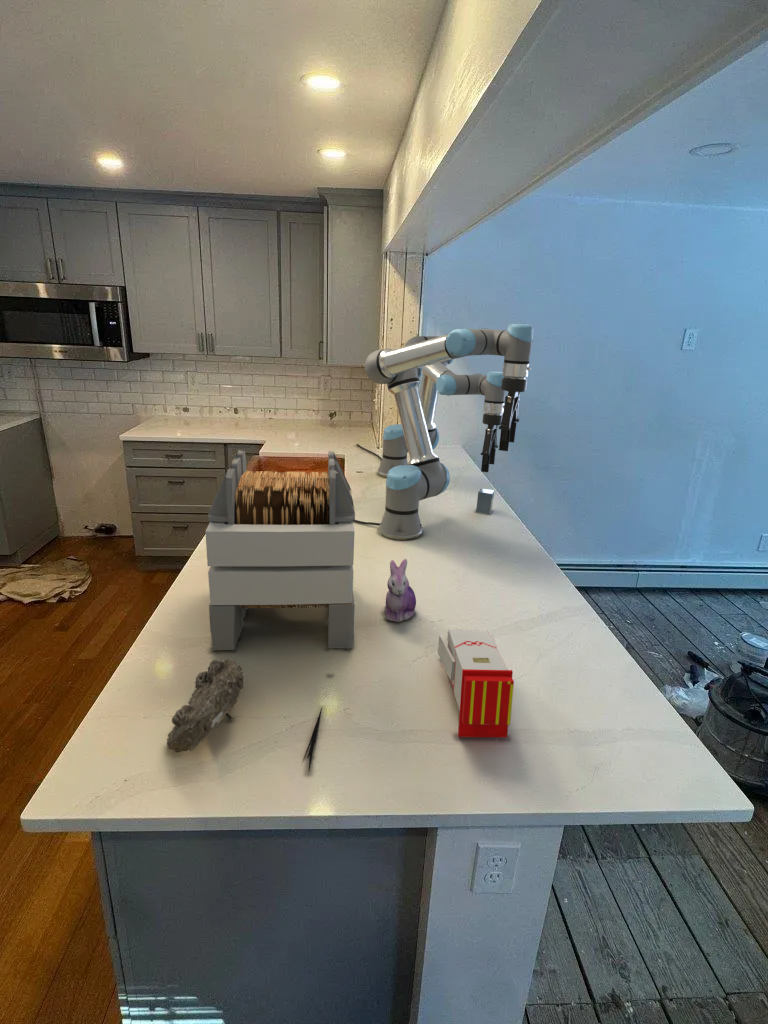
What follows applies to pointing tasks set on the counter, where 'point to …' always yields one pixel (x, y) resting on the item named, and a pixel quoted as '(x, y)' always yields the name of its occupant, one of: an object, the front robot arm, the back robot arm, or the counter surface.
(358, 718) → the counter surface
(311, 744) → the feather
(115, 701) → the counter surface
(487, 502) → the brick
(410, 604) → the figurine
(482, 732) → the toy
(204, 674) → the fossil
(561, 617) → the counter surface
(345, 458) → the counter surface
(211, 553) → the transformer
